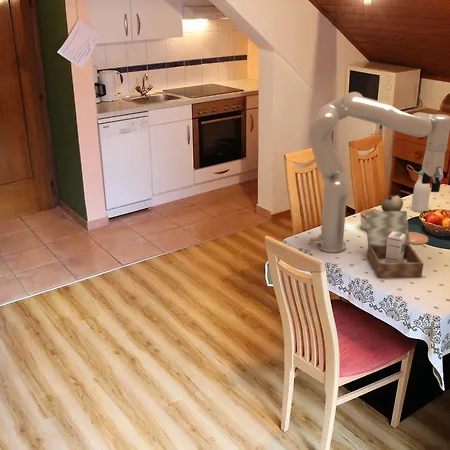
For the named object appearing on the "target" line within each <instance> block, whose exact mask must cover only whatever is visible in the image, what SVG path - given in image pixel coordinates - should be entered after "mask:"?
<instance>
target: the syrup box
mask: <svg viewBox="0 0 450 450" xmlns="http://www.w3.org/2000/svg"><path fill="white" fill-rule="evenodd" d="M405 239H406V234H404V233H400V232H393V231H392V233H391V234H389V236H388V239H387V249H386V259H384V260H385V261H384V263H404V259H403V258H404V248H405Z"/></svg>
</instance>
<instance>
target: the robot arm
mask: <svg viewBox="0 0 450 450" xmlns="http://www.w3.org/2000/svg"><path fill="white" fill-rule="evenodd" d="M347 117H351V118H353V119H357V120H361V121H365V122H368V123H373V124H376V125H379V126H383V127H384V128H387V129H391V130H393V131H395V132H399V133H400V134H405V135H409V136H412V137H417V138H423V137H427V139H426V147H425V152H424V154H423V155H424V156H423V160H422V166H421V170H423V177H422V184H430V182H431V177H432V182H431V186H430V193H440V188H441V184H442V181H443V178H444V173H443V172H444V166H445V158H446V157H445V155H446V153H447V148H448V144H449V143H448V142H449V136H450V115H448V114H442V113H438V114H436V113H435V114H431V113H426V112H421V111H417V112H414V113H412V114H409V113H407V112H404V111H401V110H399V109H398V108H397V107H395V106H393V105H391V104H390V103H388V102H384V101H379V100H376V99H372V98H368V97H365V96H363V95H362V93H360V92H358V91H351V92H348V93H345V94H344V95H342V96H340V97H338V98H336V99H334V100H332V101H330V102H328V103H327V104H324V105H323V106H321V107H320V108H319V109H318V111H317V115H316V119H315V120H314V121H313V122H312V124H311V126H310V128H309V132H308V140H309V143H310V144H309V145H310V148H311V151H312V154H313V157H314V158H313V159H314V160H315V164H316V165H315V166H316V168H317V171H318V173H320V175H321V178H322V181H323V200H322V201H323V202H322V213H321V214H322V215H321V229H320V230H321V231H320V233H321V234H319V236H317V237H309V242H310V243H313V245H316V247H317V249H318V250H320V251H322V252H325V253H332V254H333V253H334V254H337V253H341V252H344V251H345V250H346V249H347V243H346V242H345V241H344V235H345V224H346V211H347V210H346V208H347V200H348V193H349V192H348V191H349V190H348V189H349V188H348V180H347V177H346V174H345V170H344V167H343V164H342V160H341V157H340V154H339V152H338V151H337V150H336V149H335V147H334V143H333V141H332V140H333V139H332V138H331V137H332V135H331V134H332V132H333V131H334V130H335V129H336V128H337V127H338V124H339V122H340V121H341V120H343V119H345V118H347Z"/></svg>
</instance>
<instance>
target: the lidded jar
mask: <svg viewBox="0 0 450 450" xmlns="http://www.w3.org/2000/svg"><path fill="white" fill-rule="evenodd" d="M382 211H383V210H382ZM382 211H381V210H380V209H379V210H378V209H373V208H371V209H363V210H361V211H360V224H361V225H360V226H361V227H362V228H363V229H364V230H365V231H367V225H366V212H382Z"/></svg>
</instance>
